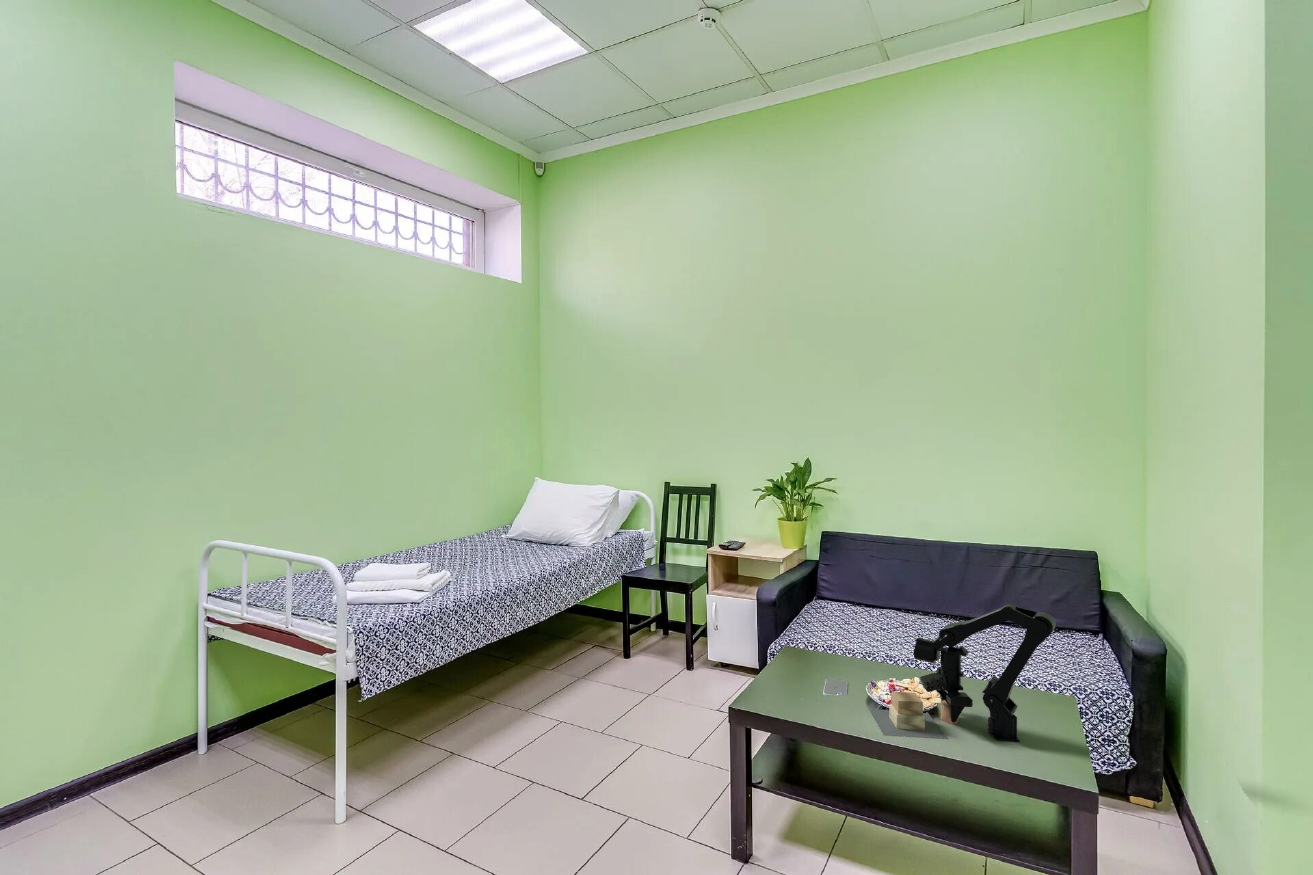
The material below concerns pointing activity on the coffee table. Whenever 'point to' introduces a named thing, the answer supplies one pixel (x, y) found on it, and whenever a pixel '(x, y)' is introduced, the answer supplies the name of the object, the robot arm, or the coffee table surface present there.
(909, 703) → the top block
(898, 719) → the base block
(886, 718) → the rubber mat
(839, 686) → the mobile phone
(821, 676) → the coffee table surface
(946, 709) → the terracotta cylinder
